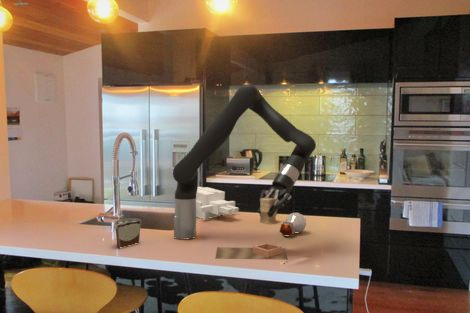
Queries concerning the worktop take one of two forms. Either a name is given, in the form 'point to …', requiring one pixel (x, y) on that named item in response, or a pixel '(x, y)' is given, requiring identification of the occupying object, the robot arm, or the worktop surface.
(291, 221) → the potion bottle
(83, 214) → the worktop surface
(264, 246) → the square tan tray
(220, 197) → the blocky voxel creature
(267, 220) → the tan tall block
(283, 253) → the walnut board
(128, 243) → the food container
